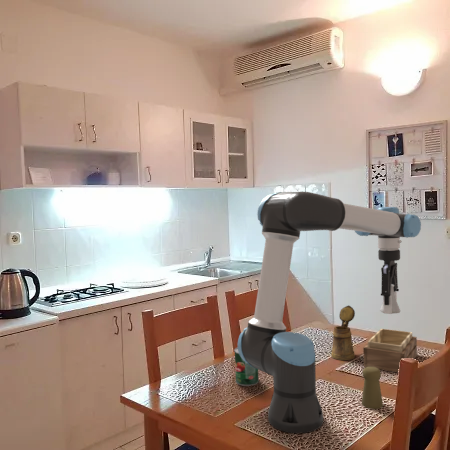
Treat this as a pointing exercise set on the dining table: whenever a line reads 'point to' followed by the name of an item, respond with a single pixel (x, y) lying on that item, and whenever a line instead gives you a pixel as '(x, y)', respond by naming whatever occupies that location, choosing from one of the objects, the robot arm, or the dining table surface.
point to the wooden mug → (343, 336)
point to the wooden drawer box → (388, 356)
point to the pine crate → (390, 340)
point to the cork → (372, 388)
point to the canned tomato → (244, 372)
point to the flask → (394, 303)
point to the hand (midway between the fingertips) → (390, 310)
